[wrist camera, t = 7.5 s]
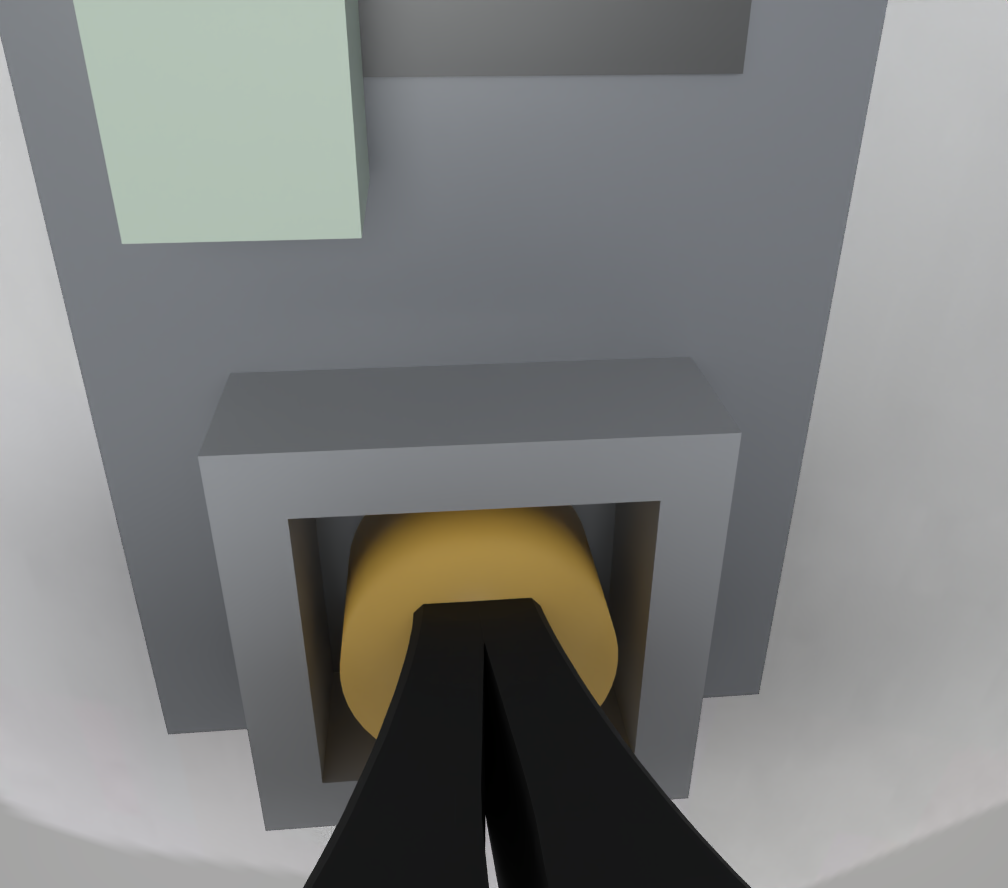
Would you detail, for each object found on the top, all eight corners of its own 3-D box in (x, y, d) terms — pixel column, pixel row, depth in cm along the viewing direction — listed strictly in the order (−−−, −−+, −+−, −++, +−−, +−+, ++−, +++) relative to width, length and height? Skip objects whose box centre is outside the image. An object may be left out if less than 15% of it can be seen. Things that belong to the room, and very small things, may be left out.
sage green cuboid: (124, -133, 8) (43, -151, 6) (349, -130, 8) (332, -149, 7) (178, 181, 10) (121, 244, 8) (370, 177, 10) (360, 238, 8)
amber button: (339, 468, 11) (327, 563, 10) (593, 456, 12) (627, 548, 10) (357, 663, 13) (350, 777, 11) (582, 650, 13) (609, 758, 12)
